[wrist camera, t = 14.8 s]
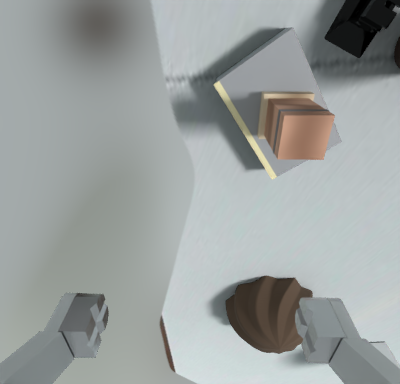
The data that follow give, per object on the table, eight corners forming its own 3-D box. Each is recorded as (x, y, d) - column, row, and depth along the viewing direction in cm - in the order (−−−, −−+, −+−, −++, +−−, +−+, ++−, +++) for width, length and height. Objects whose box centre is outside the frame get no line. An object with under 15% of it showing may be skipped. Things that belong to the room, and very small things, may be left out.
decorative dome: (235, 269, 54) (241, 314, 45) (328, 281, 55) (350, 326, 47) (217, 324, 64) (219, 369, 55) (296, 332, 65) (310, 378, 57)
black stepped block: (353, 72, 35) (372, 78, 31) (307, 47, 33) (320, 50, 29) (431, -42, 29) (467, -53, 25) (378, -78, 27) (407, -96, 23)
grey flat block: (212, 80, 35) (213, 84, 32) (286, 27, 32) (293, 27, 29) (267, 170, 42) (272, 179, 39) (332, 134, 38) (342, 142, 36)
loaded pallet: (257, 135, 36) (270, 163, 28) (261, 91, 33) (279, 110, 25) (301, 135, 35) (328, 163, 28) (310, 91, 33) (342, 110, 25)
